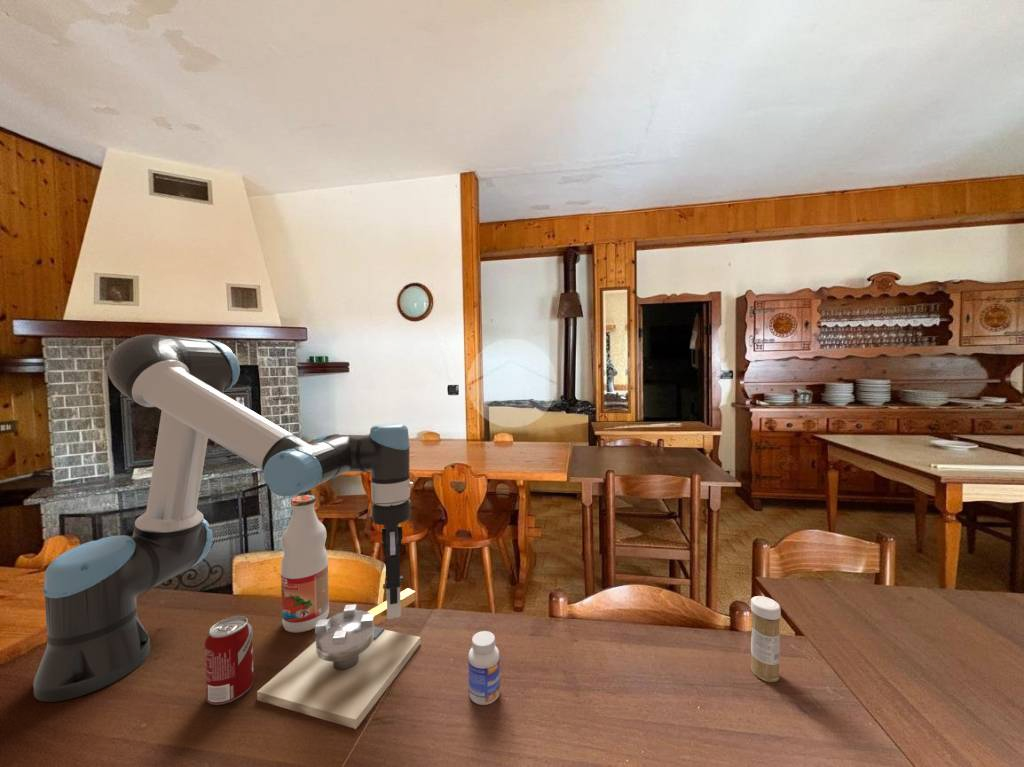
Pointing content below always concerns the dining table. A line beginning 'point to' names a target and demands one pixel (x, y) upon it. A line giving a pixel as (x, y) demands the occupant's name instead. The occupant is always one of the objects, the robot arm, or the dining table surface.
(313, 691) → the board
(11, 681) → the dining table surface
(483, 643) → the pill bottle
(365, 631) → the frying pan on burner
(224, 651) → the soda can
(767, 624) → the sprinkles bottle
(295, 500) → the fruit juice
